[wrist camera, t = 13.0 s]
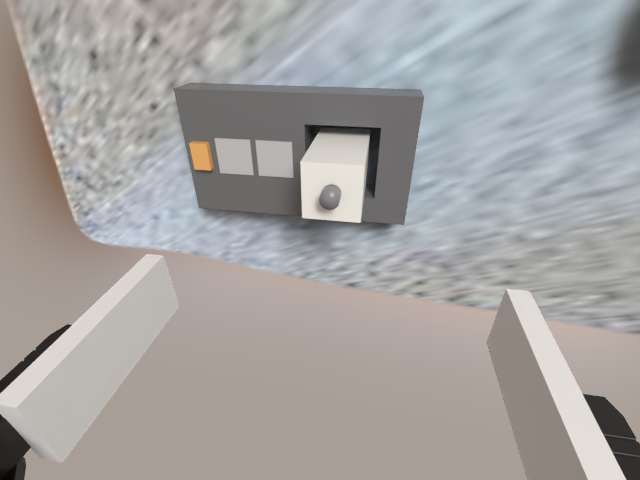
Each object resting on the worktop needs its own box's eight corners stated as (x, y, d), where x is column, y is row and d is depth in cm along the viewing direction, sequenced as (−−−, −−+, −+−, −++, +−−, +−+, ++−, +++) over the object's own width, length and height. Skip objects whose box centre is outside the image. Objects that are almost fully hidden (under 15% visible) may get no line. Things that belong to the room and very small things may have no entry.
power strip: (420, 89, 28) (424, 98, 25) (402, 209, 34) (404, 228, 31) (191, 83, 31) (170, 89, 28) (212, 195, 37) (196, 210, 34)
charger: (370, 129, 30) (363, 172, 22) (366, 176, 33) (359, 231, 24) (321, 127, 31) (296, 168, 22) (321, 173, 33) (298, 226, 25)
